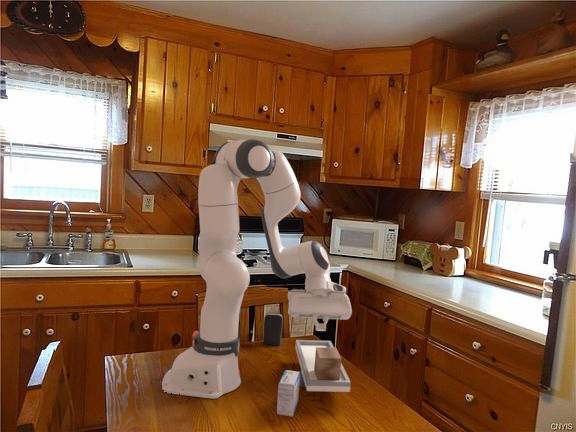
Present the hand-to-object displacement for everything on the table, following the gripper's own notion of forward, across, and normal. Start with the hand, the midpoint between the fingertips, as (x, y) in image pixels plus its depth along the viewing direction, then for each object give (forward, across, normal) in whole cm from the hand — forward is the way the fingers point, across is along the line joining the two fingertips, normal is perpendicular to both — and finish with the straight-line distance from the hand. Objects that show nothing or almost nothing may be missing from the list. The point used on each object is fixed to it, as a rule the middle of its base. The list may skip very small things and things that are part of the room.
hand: (320, 330), depth 125 cm
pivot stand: (+12, 0, +10) cm, 15 cm away
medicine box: (+23, -11, -1) cm, 26 cm away
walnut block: (+14, +1, -1) cm, 14 cm away
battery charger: (-7, -13, +29) cm, 33 cm away
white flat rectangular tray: (+9, 0, +6) cm, 11 cm away
